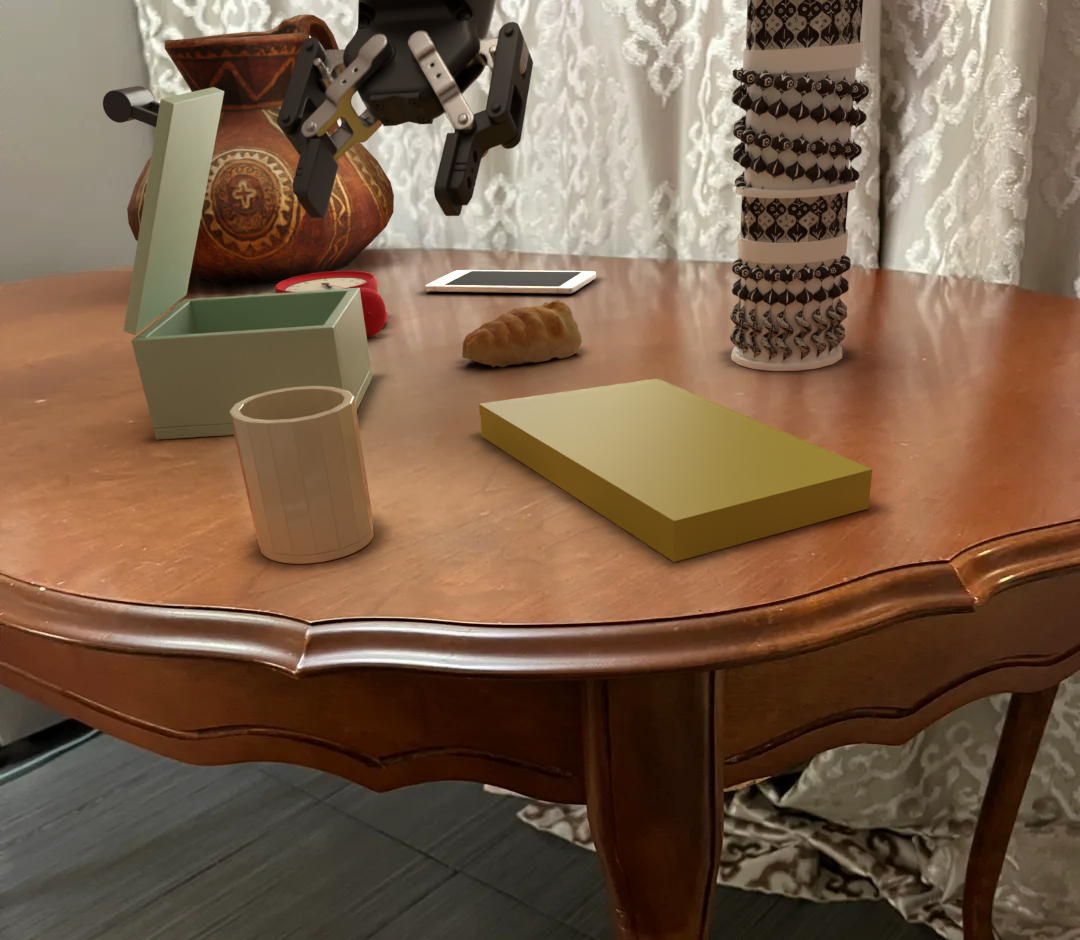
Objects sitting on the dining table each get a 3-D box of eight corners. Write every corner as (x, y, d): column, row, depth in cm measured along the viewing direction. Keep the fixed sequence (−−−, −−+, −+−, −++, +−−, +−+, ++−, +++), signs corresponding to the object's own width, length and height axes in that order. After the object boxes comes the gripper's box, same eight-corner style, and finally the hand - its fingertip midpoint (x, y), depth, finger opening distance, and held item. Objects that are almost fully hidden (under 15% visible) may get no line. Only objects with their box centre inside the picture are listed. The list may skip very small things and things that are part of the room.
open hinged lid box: (372, 377, 88) (359, 287, 84) (348, 428, 77) (333, 326, 74) (202, 388, 88) (182, 299, 85) (156, 439, 78) (130, 340, 74)
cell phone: (456, 276, 120) (455, 269, 120) (597, 277, 115) (597, 271, 114) (424, 292, 114) (423, 285, 114) (571, 294, 109) (571, 287, 108)
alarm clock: (376, 267, 108) (386, 255, 94) (386, 335, 110) (397, 333, 96) (267, 279, 106) (261, 268, 92) (280, 348, 108) (275, 347, 94)
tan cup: (248, 567, 58) (216, 426, 54) (272, 521, 63) (245, 389, 59) (366, 560, 58) (343, 418, 54) (380, 515, 63) (361, 382, 59)
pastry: (486, 376, 86) (481, 325, 84) (448, 360, 91) (443, 311, 89) (589, 353, 90) (587, 304, 88) (547, 339, 95) (544, 292, 93)
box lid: (224, 91, 77) (149, 61, 76) (173, 103, 67) (85, 68, 66) (186, 295, 85) (117, 270, 84) (135, 335, 74) (55, 307, 73)
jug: (315, 300, 115) (267, 13, 101) (83, 296, 125) (13, 35, 112) (439, 245, 138) (414, 6, 125) (235, 245, 148) (192, 24, 135)
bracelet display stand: (703, 352, 88) (708, -28, 75) (803, 334, 91) (826, -36, 77) (765, 379, 81) (782, -37, 67) (872, 359, 83) (910, -45, 70)
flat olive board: (868, 508, 59) (640, 402, 78) (872, 469, 58) (639, 370, 77) (674, 562, 55) (482, 436, 74) (674, 520, 54) (478, 403, 73)
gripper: (300, -85, 63) (231, 166, 61) (533, -114, 59) (470, 157, 56) (359, 21, 70) (299, 251, 68) (571, 3, 66) (517, 249, 63)
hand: (376, 208), depth 62 cm, fingers open, 8 cm apart
